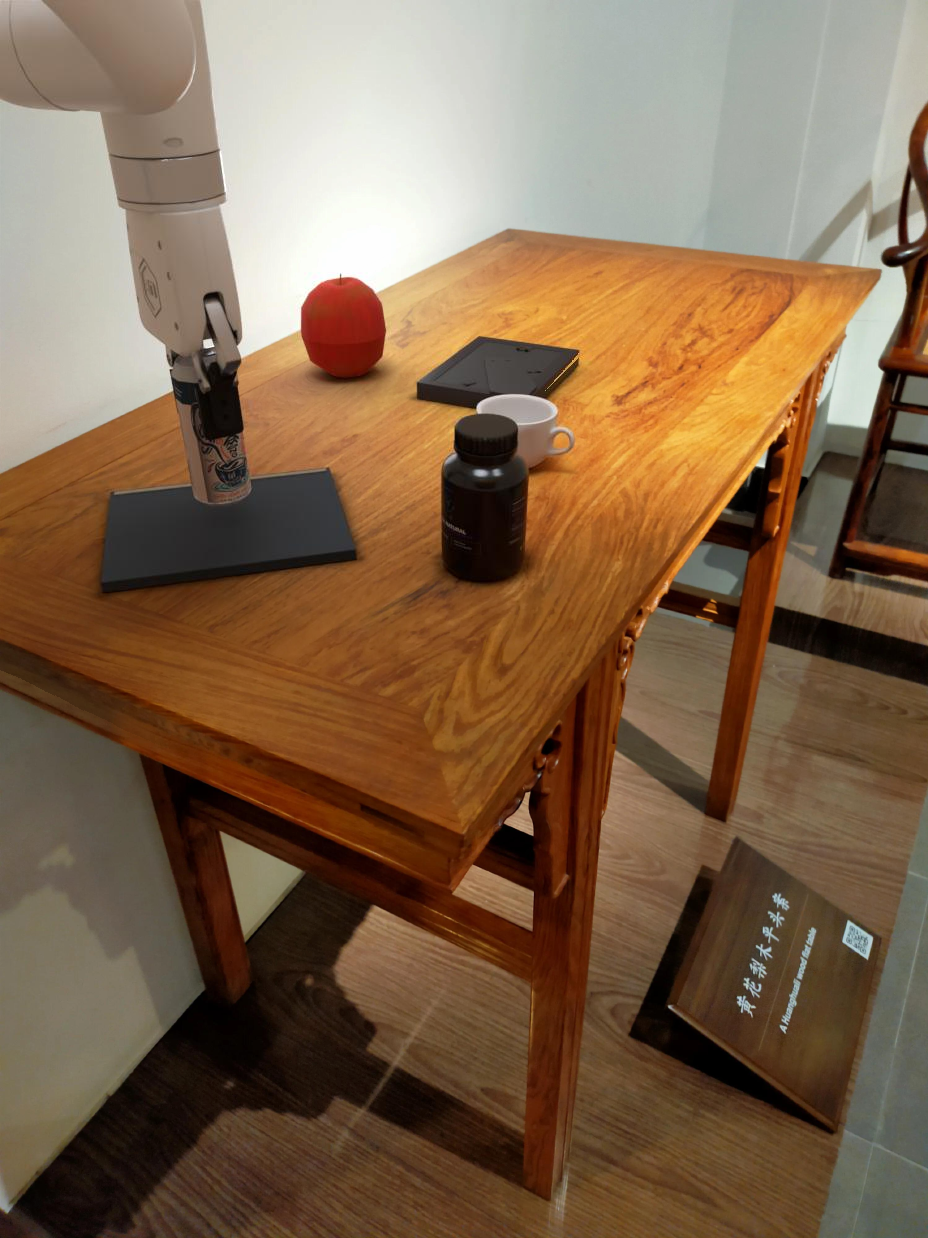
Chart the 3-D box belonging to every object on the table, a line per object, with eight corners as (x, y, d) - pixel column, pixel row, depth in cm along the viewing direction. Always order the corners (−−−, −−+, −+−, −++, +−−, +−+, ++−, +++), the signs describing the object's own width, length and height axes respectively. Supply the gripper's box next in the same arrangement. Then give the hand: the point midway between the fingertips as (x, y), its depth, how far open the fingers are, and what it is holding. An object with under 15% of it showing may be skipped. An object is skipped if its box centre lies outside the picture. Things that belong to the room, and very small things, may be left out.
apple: (342, 351, 119) (335, 257, 113) (406, 367, 115) (402, 269, 108) (287, 375, 112) (276, 275, 106) (352, 392, 108) (345, 289, 101)
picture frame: (526, 417, 102) (578, 364, 115) (527, 397, 100) (579, 346, 114) (416, 398, 106) (478, 350, 120) (416, 379, 105) (478, 332, 118)
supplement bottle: (430, 576, 75) (426, 436, 68) (456, 535, 80) (455, 402, 74) (513, 590, 73) (518, 448, 67) (534, 547, 79) (540, 412, 72)
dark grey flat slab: (102, 593, 73) (99, 581, 73) (112, 500, 86) (109, 490, 85) (356, 559, 77) (355, 548, 77) (330, 476, 90) (329, 465, 89)
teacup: (461, 466, 92) (461, 414, 89) (498, 438, 97) (499, 388, 94) (555, 489, 88) (558, 435, 84) (587, 458, 93) (591, 407, 90)
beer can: (220, 515, 77) (196, 373, 70) (182, 499, 79) (155, 360, 73) (263, 493, 80) (244, 356, 73) (226, 478, 83) (204, 344, 76)
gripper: (80, 167, 70) (130, 401, 80) (159, 206, 58) (206, 473, 69) (177, 157, 73) (214, 383, 84) (271, 192, 62) (299, 449, 72)
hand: (210, 421), depth 76 cm, fingers closed on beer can, 4 cm apart
